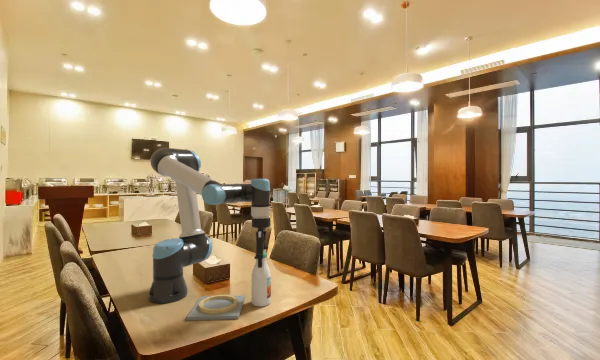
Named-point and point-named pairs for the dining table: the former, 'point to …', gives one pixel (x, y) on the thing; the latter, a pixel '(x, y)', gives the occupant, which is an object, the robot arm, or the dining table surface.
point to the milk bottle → (261, 285)
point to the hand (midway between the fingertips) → (261, 270)
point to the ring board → (217, 307)
